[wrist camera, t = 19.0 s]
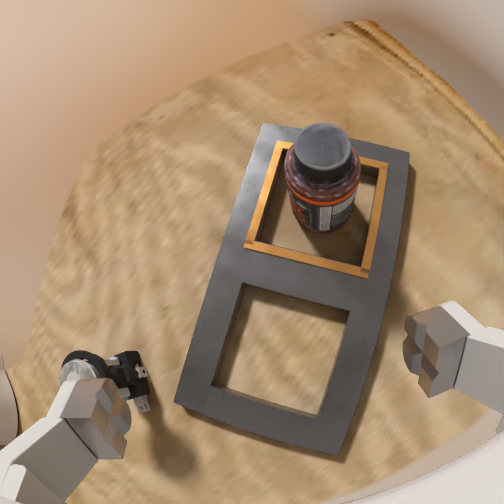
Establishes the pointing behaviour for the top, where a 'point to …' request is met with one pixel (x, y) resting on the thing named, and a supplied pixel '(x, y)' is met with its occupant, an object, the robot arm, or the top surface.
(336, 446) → the grey rectangular frame
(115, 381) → the push button
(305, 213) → the supplement bottle
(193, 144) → the top surface
